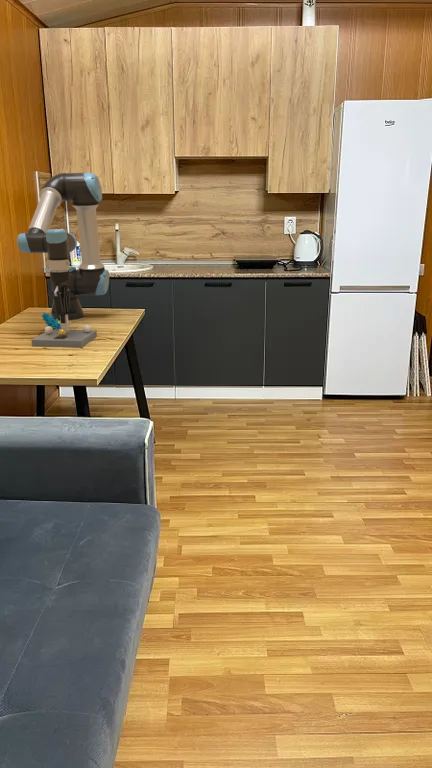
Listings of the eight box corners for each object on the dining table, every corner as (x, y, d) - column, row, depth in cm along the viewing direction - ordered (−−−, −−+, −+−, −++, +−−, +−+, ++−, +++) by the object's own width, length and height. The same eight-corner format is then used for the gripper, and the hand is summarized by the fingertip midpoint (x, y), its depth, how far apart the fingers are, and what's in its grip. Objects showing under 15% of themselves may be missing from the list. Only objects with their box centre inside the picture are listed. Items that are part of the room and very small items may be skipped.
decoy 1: (47, 332, 227) (46, 325, 226) (54, 333, 227) (53, 325, 226) (43, 334, 224) (42, 326, 223) (51, 335, 224) (50, 327, 223)
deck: (50, 335, 234) (50, 329, 233) (96, 336, 232) (96, 330, 231) (32, 346, 217) (31, 339, 216) (81, 347, 215) (81, 341, 214)
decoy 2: (84, 331, 229) (84, 323, 228) (92, 331, 229) (91, 324, 228) (82, 333, 226) (81, 325, 225) (89, 333, 226) (89, 325, 225)
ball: (55, 332, 218) (57, 338, 221) (63, 332, 218) (65, 338, 220) (58, 327, 221) (60, 333, 223) (66, 327, 220) (68, 333, 223)
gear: (56, 329, 236) (40, 312, 236) (47, 339, 238) (31, 322, 238) (67, 327, 247) (52, 311, 247) (59, 336, 248) (43, 320, 248)
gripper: (62, 273, 210) (68, 334, 217) (75, 268, 222) (80, 327, 229) (43, 272, 211) (49, 334, 218) (56, 268, 223) (62, 327, 230)
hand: (65, 330), depth 224 cm, fingers closed
